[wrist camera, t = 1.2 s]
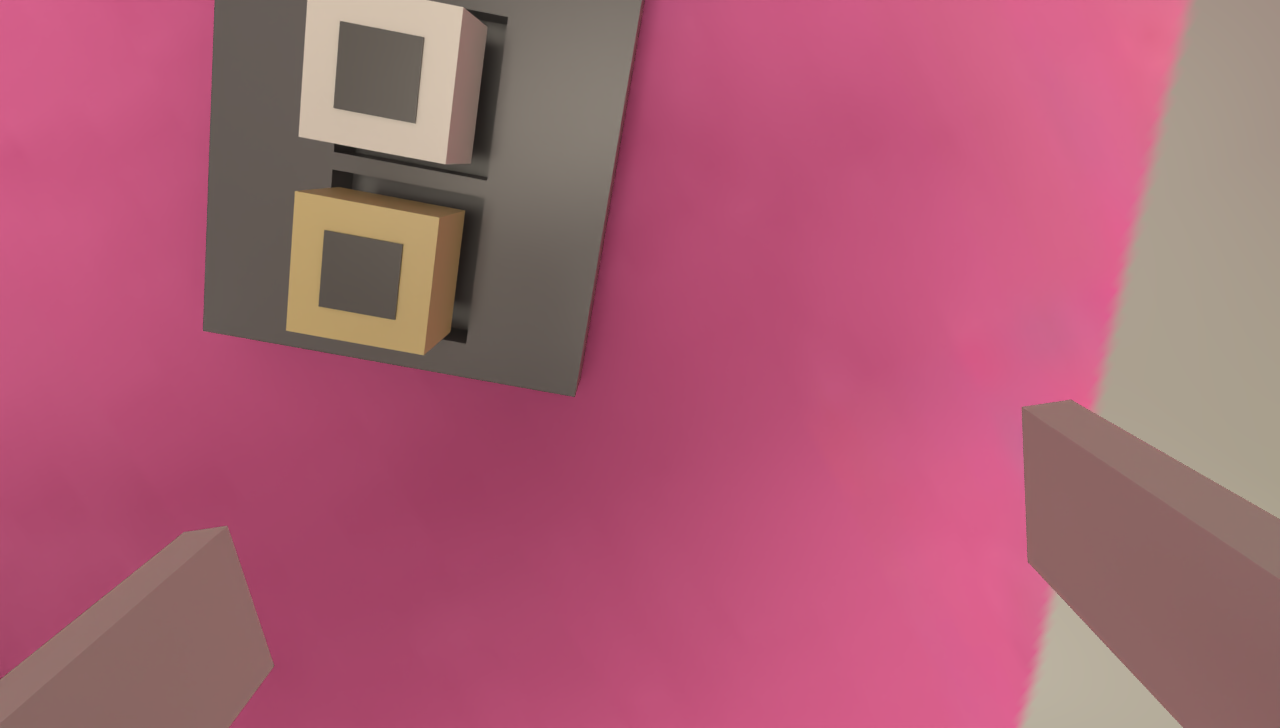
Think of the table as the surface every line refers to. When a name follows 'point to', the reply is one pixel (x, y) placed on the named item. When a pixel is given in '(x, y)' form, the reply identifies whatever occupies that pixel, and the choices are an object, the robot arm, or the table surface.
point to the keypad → (434, 183)
